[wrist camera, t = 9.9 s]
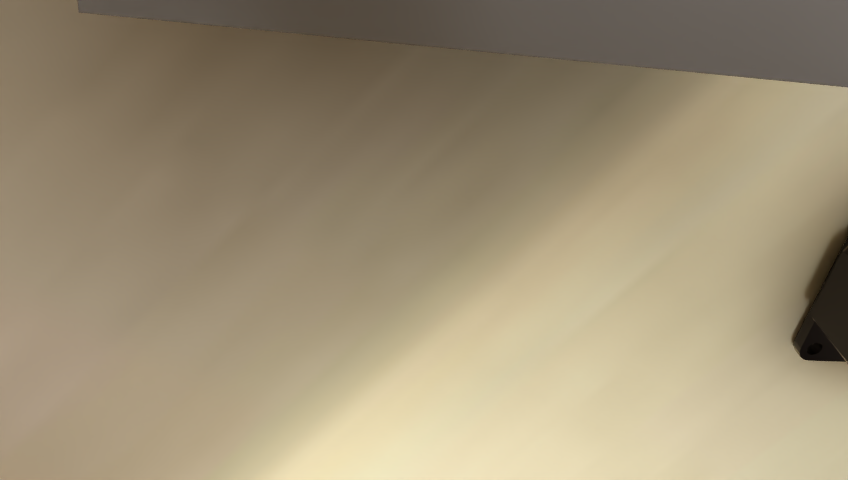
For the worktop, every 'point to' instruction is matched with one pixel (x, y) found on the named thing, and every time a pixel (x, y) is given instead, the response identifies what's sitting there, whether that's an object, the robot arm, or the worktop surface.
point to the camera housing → (559, 29)
